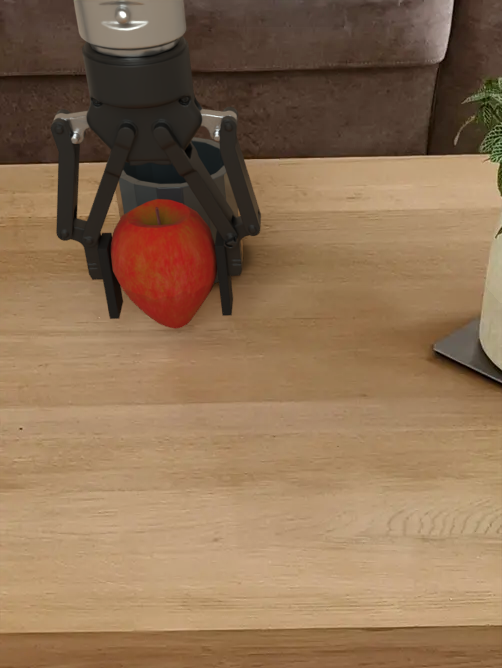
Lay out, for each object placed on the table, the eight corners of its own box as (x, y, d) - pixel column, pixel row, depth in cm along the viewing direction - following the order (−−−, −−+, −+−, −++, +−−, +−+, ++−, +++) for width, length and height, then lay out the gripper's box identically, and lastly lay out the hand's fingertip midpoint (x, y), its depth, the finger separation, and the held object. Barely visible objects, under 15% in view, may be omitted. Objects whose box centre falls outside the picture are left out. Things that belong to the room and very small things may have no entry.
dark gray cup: (107, 277, 107) (89, 176, 101) (161, 226, 115) (148, 129, 109) (213, 297, 105) (201, 195, 98) (261, 243, 113) (253, 146, 106)
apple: (126, 298, 102) (107, 183, 95) (225, 293, 103) (213, 179, 96) (118, 353, 95) (97, 233, 88) (224, 347, 96) (211, 228, 89)
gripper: (-30, 58, 80) (34, 336, 94) (282, 56, 82) (299, 328, 96) (-7, 22, 86) (50, 289, 100) (284, 20, 88) (300, 282, 102)
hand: (172, 308), depth 98 cm, fingers closed on apple, 8 cm apart
